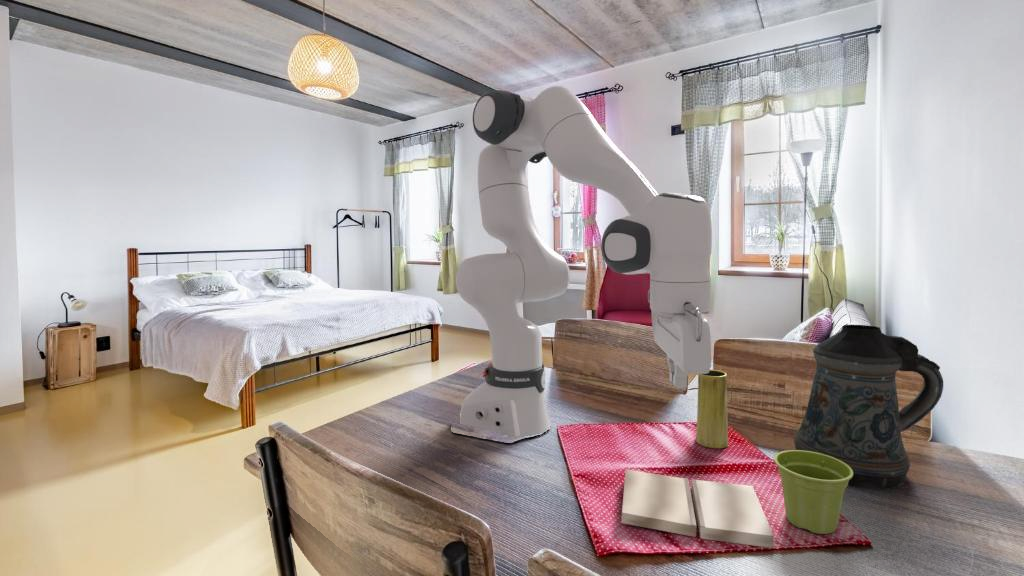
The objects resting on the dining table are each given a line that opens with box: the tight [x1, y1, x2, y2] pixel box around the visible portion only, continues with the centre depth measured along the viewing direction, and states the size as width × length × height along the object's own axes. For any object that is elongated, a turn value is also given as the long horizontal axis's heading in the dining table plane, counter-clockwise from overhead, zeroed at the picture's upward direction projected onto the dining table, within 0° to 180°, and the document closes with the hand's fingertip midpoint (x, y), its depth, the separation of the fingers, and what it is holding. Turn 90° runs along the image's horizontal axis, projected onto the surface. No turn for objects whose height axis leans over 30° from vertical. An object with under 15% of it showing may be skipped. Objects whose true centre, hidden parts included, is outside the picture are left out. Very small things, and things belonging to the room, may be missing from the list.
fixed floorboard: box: [691, 478, 775, 549], centre depth 69 cm, size 9×13×2 cm
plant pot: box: [773, 449, 853, 535], centre depth 67 cm, size 9×9×9 cm
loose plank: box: [620, 469, 698, 538], centre depth 72 cm, size 10×13×2 cm
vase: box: [695, 369, 730, 450], centre depth 93 cm, size 6×6×14 cm
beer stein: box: [793, 324, 944, 490], centre depth 81 cm, size 16×19×25 cm
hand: (678, 384), depth 74 cm, fingers closed
